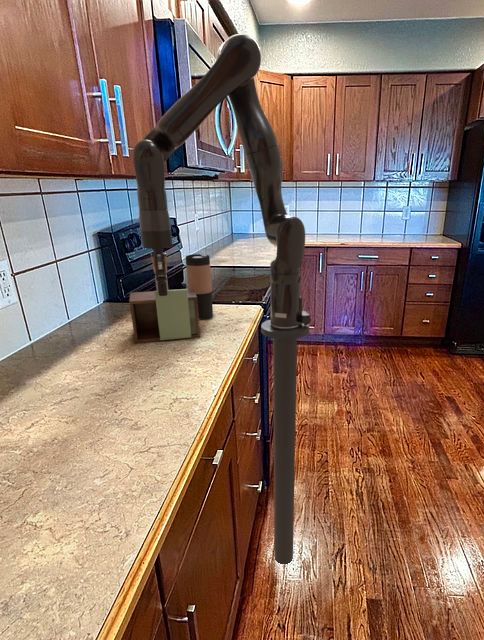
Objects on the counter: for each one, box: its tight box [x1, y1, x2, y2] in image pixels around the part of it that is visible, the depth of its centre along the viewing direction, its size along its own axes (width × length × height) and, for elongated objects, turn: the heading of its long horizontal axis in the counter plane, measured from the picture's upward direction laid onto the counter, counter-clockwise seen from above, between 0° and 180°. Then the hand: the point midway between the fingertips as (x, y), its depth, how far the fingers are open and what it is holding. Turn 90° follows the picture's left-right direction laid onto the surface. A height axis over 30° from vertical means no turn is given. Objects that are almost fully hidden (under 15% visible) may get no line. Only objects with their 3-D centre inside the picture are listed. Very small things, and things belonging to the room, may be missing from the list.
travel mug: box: [185, 253, 214, 321], centre depth 137 cm, size 8×8×20 cm
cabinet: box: [128, 288, 201, 344], centre depth 122 cm, size 18×10×12 cm, turn 108°
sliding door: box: [154, 274, 191, 341], centre depth 116 cm, size 9×2×18 cm, turn 108°
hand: (163, 294), depth 114 cm, fingers closed on sliding door, 2 cm apart
